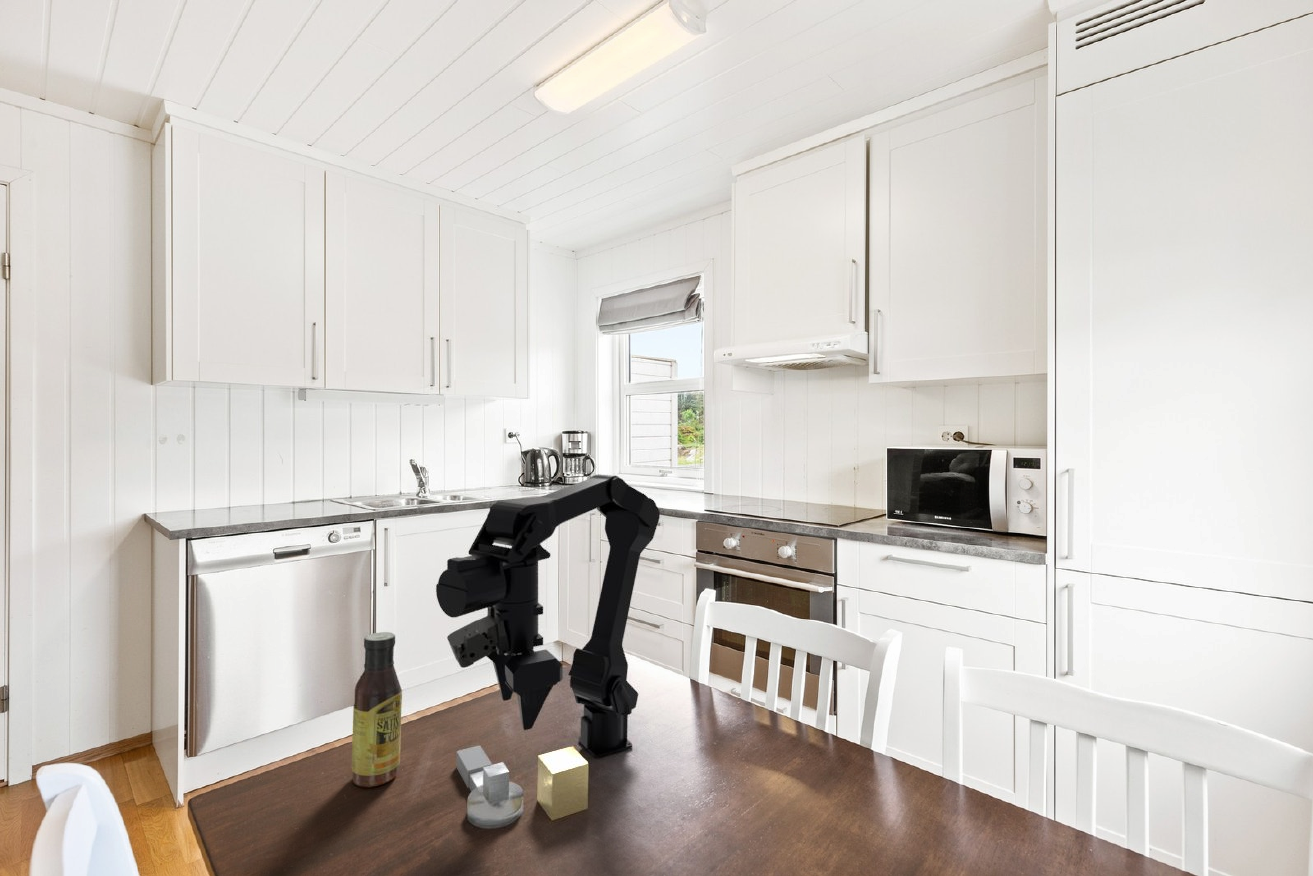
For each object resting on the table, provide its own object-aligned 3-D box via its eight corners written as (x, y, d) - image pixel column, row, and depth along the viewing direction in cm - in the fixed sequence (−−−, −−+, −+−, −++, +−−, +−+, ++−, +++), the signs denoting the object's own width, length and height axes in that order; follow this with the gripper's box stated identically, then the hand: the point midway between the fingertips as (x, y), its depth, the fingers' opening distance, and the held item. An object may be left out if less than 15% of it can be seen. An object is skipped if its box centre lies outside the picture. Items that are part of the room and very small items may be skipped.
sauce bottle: (381, 793, 85) (383, 646, 84) (341, 786, 86) (342, 642, 85) (410, 767, 91) (411, 631, 91) (371, 761, 92) (373, 627, 92)
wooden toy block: (571, 789, 86) (572, 746, 86) (587, 808, 82) (588, 763, 82) (537, 800, 84) (538, 755, 84) (551, 820, 79) (552, 773, 79)
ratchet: (531, 817, 80) (531, 775, 80) (476, 835, 76) (476, 791, 76) (491, 758, 94) (492, 721, 94) (443, 770, 90) (444, 733, 90)
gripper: (438, 588, 87) (439, 699, 87) (470, 628, 70) (471, 764, 71) (517, 578, 92) (518, 682, 93) (564, 613, 76) (564, 740, 77)
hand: (516, 713), depth 83 cm, fingers open, 9 cm apart
